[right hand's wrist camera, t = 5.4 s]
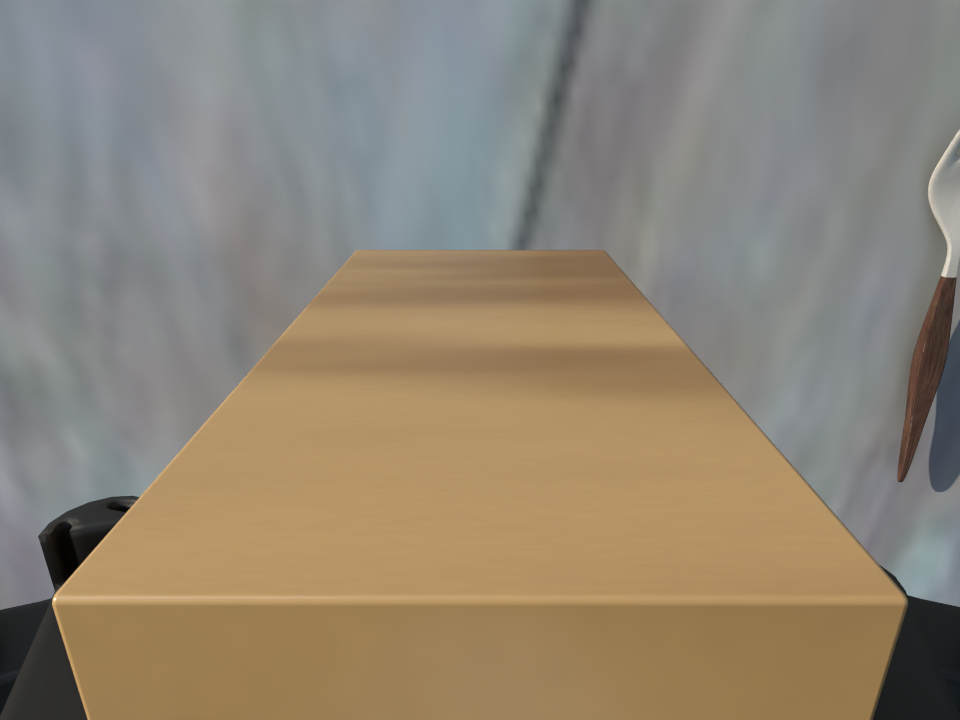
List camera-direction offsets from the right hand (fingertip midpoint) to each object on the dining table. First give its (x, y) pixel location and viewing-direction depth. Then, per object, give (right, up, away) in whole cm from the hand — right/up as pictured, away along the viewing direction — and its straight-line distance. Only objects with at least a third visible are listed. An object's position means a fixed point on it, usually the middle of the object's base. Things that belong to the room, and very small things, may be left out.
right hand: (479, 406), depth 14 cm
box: (0, -9, +5) cm, 10 cm away
